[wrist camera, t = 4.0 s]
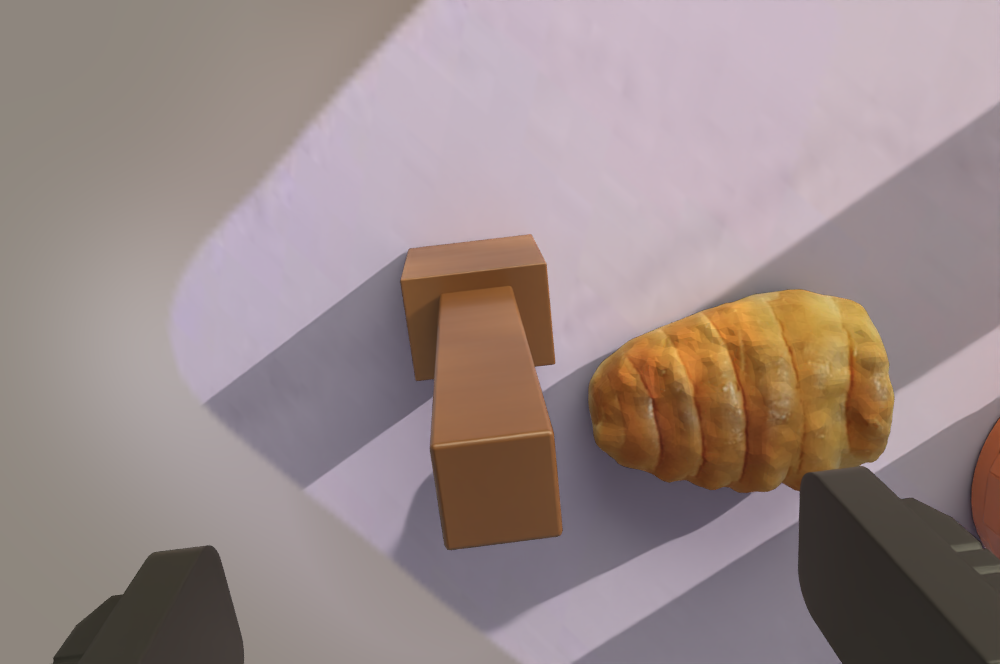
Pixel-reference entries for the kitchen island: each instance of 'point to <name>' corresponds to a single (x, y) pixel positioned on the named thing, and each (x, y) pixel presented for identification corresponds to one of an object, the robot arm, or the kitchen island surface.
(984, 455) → the crock
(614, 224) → the kitchen island surface
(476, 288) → the wooden mallet
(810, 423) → the pastry
